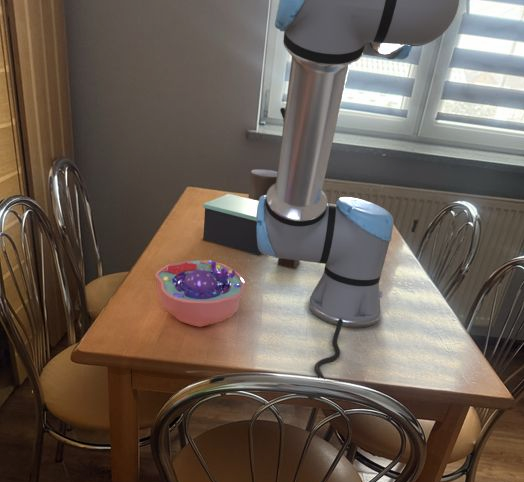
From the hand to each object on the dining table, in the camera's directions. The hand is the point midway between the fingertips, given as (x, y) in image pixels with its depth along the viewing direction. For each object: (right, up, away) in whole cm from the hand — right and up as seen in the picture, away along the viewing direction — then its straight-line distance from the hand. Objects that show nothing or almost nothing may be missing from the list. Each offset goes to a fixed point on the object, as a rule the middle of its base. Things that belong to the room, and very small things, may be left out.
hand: (296, 183), depth 128 cm
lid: (-13, -4, +9) cm, 16 cm away
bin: (-14, -12, +13) cm, 23 cm away
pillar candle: (-9, +1, +35) cm, 36 cm away
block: (-2, -20, +3) cm, 20 cm away
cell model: (-21, -36, -28) cm, 50 cm away
